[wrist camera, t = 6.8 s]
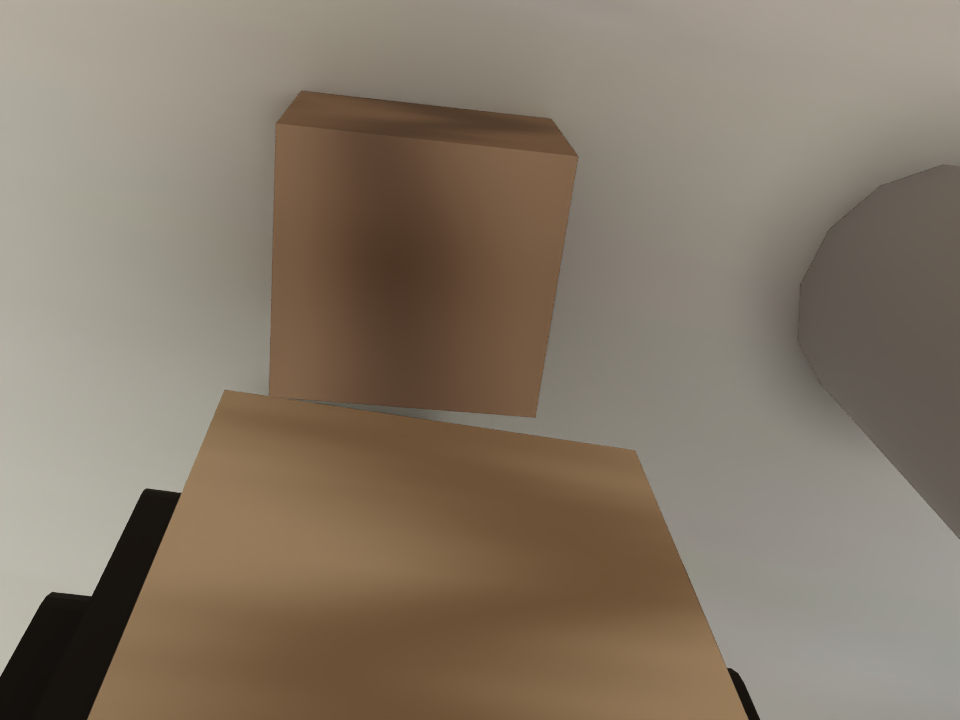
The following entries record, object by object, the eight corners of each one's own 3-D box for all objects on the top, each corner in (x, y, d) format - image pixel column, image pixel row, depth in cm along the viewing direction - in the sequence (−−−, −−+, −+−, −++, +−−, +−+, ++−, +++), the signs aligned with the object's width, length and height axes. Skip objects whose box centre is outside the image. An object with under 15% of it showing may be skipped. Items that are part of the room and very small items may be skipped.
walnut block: (550, 117, 26) (578, 156, 21) (517, 342, 29) (535, 417, 24) (301, 90, 25) (275, 123, 21) (293, 322, 28) (269, 397, 23)
